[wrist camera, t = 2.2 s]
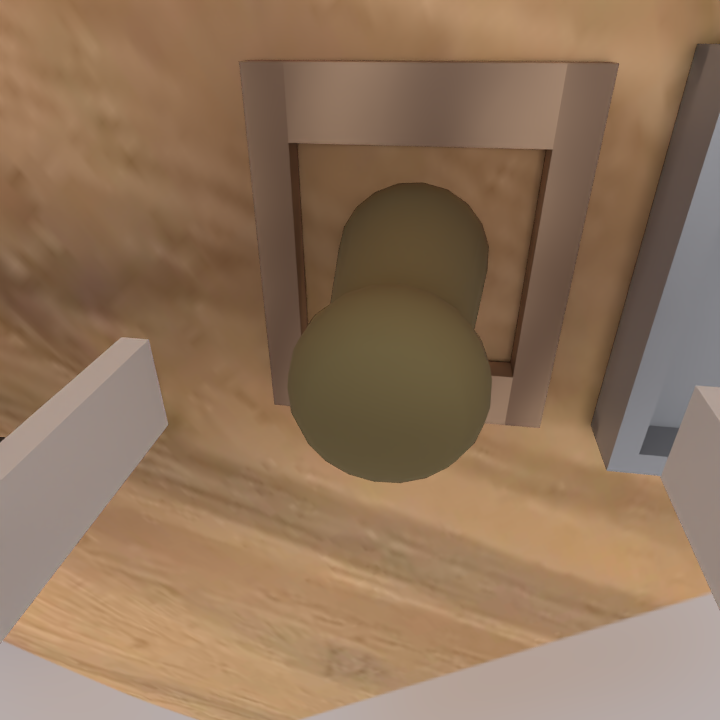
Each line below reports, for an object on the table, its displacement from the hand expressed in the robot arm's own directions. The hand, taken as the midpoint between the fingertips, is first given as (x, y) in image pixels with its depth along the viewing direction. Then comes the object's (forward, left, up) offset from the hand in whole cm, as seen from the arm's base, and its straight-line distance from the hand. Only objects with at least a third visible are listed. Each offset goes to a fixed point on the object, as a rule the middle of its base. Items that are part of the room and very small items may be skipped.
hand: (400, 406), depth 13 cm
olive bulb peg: (0, 0, -10) cm, 10 cm away
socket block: (0, 0, -10) cm, 10 cm away
